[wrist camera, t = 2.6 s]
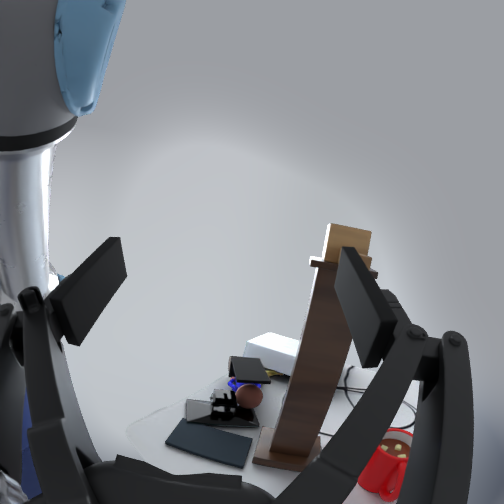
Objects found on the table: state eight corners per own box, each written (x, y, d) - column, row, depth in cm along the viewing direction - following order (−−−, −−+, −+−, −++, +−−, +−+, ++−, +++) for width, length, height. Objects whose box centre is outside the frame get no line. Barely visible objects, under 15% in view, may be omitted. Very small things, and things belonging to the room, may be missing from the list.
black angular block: (186, 423, 39) (188, 401, 39) (186, 399, 46) (188, 379, 46) (259, 427, 42) (264, 406, 42) (251, 404, 49) (255, 385, 49)
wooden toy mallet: (384, 281, 22) (394, 230, 22) (329, 271, 23) (339, 219, 23) (358, 265, 35) (365, 231, 35) (321, 258, 36) (327, 224, 35)
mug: (360, 513, 22) (386, 481, 21) (352, 460, 34) (370, 427, 33) (409, 509, 21) (437, 476, 20) (393, 460, 33) (413, 427, 32)
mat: (165, 443, 34) (165, 441, 33) (182, 420, 40) (182, 417, 40) (242, 468, 31) (243, 466, 31) (251, 440, 38) (252, 438, 38)
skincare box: (264, 349, 78) (240, 359, 64) (269, 331, 78) (246, 338, 64) (335, 370, 69) (326, 387, 55) (341, 352, 70) (334, 365, 55)
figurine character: (222, 380, 59) (230, 412, 44) (227, 349, 59) (236, 375, 45) (251, 382, 60) (267, 413, 45) (257, 352, 61) (274, 377, 46)
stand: (317, 473, 31) (390, 275, 28) (251, 462, 33) (302, 258, 30) (317, 442, 39) (373, 267, 36) (260, 432, 41) (302, 253, 38)
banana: (270, 364, 64) (284, 371, 62) (268, 370, 64) (282, 377, 62) (252, 376, 57) (268, 384, 55) (250, 382, 57) (266, 390, 55)
